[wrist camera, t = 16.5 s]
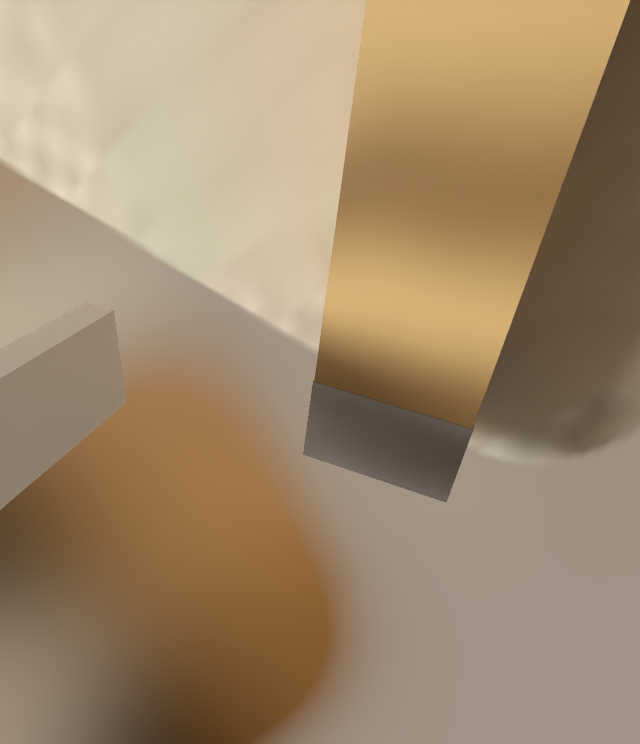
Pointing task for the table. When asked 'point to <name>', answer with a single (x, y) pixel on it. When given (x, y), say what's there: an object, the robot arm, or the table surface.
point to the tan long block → (444, 218)
